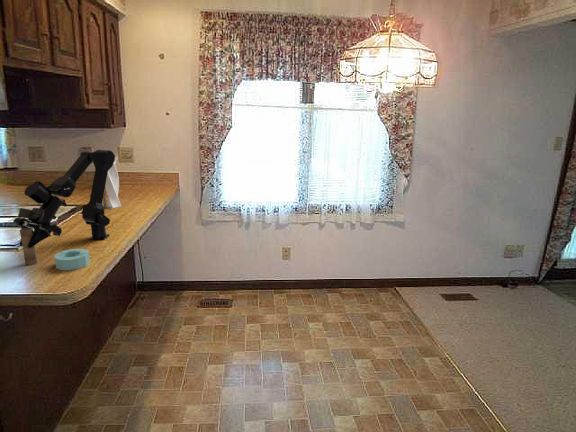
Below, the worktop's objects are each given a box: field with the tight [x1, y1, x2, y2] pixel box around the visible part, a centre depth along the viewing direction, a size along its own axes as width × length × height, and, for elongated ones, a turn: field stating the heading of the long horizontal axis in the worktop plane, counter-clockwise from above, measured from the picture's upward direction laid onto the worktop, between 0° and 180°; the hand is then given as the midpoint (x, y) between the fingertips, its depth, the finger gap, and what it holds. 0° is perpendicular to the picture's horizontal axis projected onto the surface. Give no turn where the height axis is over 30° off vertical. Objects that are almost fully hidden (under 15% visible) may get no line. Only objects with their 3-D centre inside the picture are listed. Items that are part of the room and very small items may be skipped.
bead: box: [54, 248, 91, 271], centre depth 145 cm, size 11×11×4 cm
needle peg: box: [19, 228, 38, 266], centre depth 143 cm, size 4×4×13 cm
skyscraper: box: [102, 157, 122, 210], centre depth 221 cm, size 8×8×28 cm
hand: (24, 246), depth 142 cm, fingers closed on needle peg, 4 cm apart
